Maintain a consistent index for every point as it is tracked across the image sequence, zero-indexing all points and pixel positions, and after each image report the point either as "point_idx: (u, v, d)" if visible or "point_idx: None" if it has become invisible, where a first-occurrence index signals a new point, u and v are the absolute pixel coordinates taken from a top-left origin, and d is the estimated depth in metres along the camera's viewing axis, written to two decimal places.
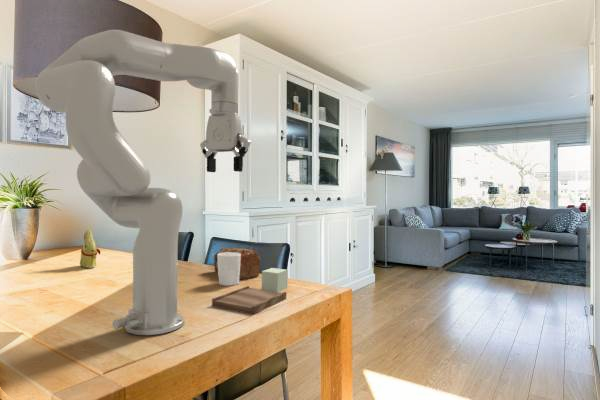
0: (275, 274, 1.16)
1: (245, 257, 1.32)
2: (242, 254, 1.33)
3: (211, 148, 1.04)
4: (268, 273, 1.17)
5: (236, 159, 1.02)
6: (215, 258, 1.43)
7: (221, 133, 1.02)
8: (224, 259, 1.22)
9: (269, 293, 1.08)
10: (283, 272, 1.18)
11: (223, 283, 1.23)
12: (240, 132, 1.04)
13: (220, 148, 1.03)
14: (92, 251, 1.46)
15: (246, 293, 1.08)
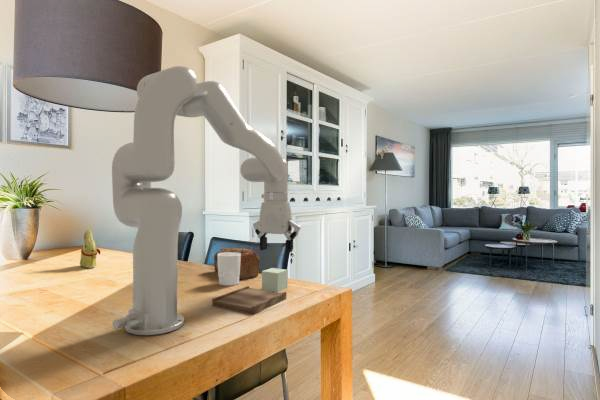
0: (275, 274, 1.16)
1: (244, 257, 1.32)
2: (241, 254, 1.32)
3: (265, 231, 1.18)
4: (268, 273, 1.17)
5: (288, 242, 1.16)
6: (215, 258, 1.43)
7: (274, 219, 1.16)
8: (224, 259, 1.22)
9: (269, 293, 1.08)
10: (283, 272, 1.18)
11: (223, 283, 1.23)
12: (290, 217, 1.18)
13: (273, 232, 1.17)
14: (92, 251, 1.46)
15: (246, 293, 1.08)
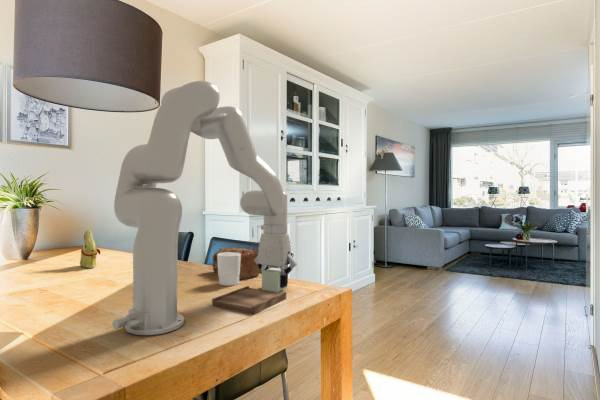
0: (275, 274, 1.16)
1: (245, 257, 1.32)
2: (242, 254, 1.33)
3: (264, 263, 1.18)
4: (268, 273, 1.17)
5: (282, 277, 1.17)
6: (214, 258, 1.43)
7: (273, 252, 1.16)
8: (224, 259, 1.22)
9: (269, 293, 1.08)
10: None
11: (223, 283, 1.23)
12: (289, 249, 1.18)
13: (272, 265, 1.17)
14: (92, 251, 1.46)
15: (246, 293, 1.08)
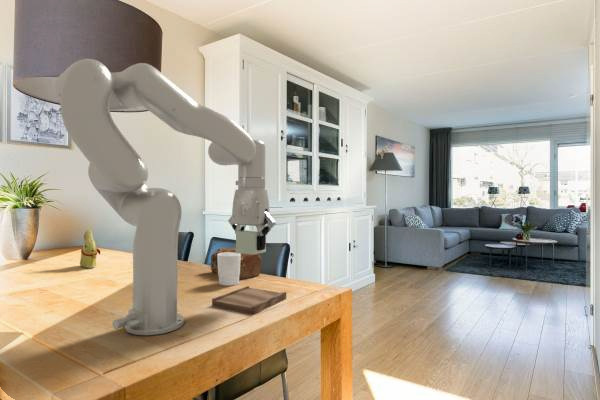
0: (251, 234, 1.00)
1: (247, 257, 1.33)
2: (244, 254, 1.33)
3: (238, 223, 1.03)
4: (243, 233, 1.02)
5: (259, 238, 1.01)
6: (212, 259, 1.42)
7: (248, 209, 1.01)
8: (224, 259, 1.22)
9: (269, 293, 1.08)
10: None
11: (223, 283, 1.23)
12: (267, 207, 1.02)
13: (247, 224, 1.01)
14: (92, 251, 1.46)
15: (246, 293, 1.08)
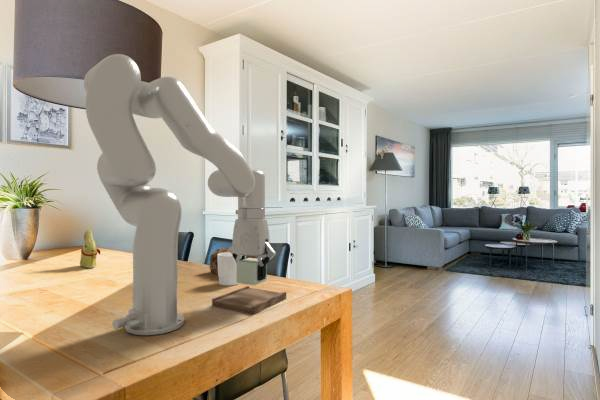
0: (251, 264, 1.01)
1: (248, 257, 1.33)
2: None
3: (238, 253, 1.03)
4: (243, 263, 1.02)
5: (260, 269, 1.02)
6: (212, 259, 1.41)
7: (249, 239, 1.01)
8: (224, 259, 1.22)
9: (269, 293, 1.08)
10: None
11: (223, 283, 1.23)
12: (268, 237, 1.03)
13: (248, 254, 1.02)
14: (92, 251, 1.46)
15: (246, 293, 1.08)
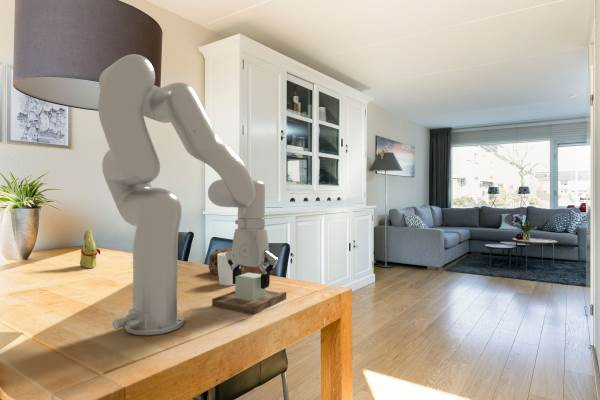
0: (250, 280, 1.01)
1: None
2: None
3: (237, 263, 1.03)
4: (242, 279, 1.02)
5: (263, 277, 1.01)
6: (211, 259, 1.40)
7: (248, 250, 1.01)
8: (224, 259, 1.22)
9: (269, 293, 1.08)
10: (260, 278, 1.03)
11: (223, 283, 1.23)
12: (267, 247, 1.03)
13: (247, 265, 1.01)
14: (92, 251, 1.46)
15: None
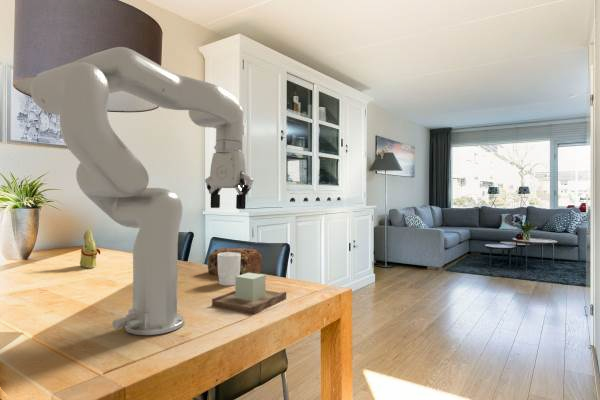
0: (250, 280, 1.01)
1: (251, 256, 1.34)
2: (248, 253, 1.34)
3: (215, 185, 1.05)
4: (242, 279, 1.02)
5: (239, 197, 1.02)
6: (210, 260, 1.40)
7: (224, 171, 1.03)
8: (224, 259, 1.22)
9: (269, 293, 1.08)
10: (260, 278, 1.03)
11: (223, 283, 1.23)
12: (243, 170, 1.04)
13: (223, 186, 1.03)
14: (92, 251, 1.46)
15: None
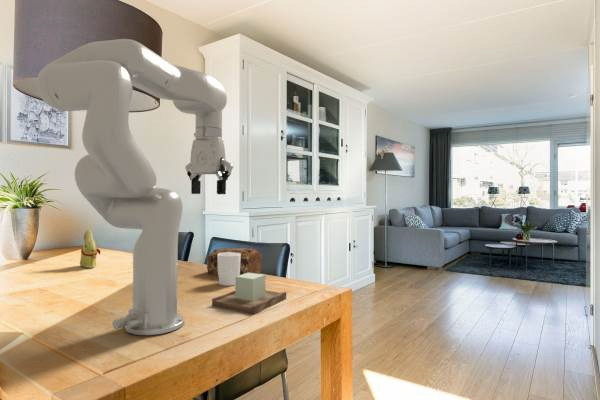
0: (250, 280, 1.01)
1: (252, 256, 1.35)
2: (249, 253, 1.35)
3: (195, 171, 1.07)
4: (242, 279, 1.02)
5: (219, 182, 1.05)
6: (210, 260, 1.39)
7: (205, 157, 1.06)
8: (224, 259, 1.22)
9: (269, 293, 1.08)
10: (260, 278, 1.03)
11: (223, 283, 1.23)
12: (223, 156, 1.07)
13: (204, 172, 1.06)
14: (92, 251, 1.46)
15: None
